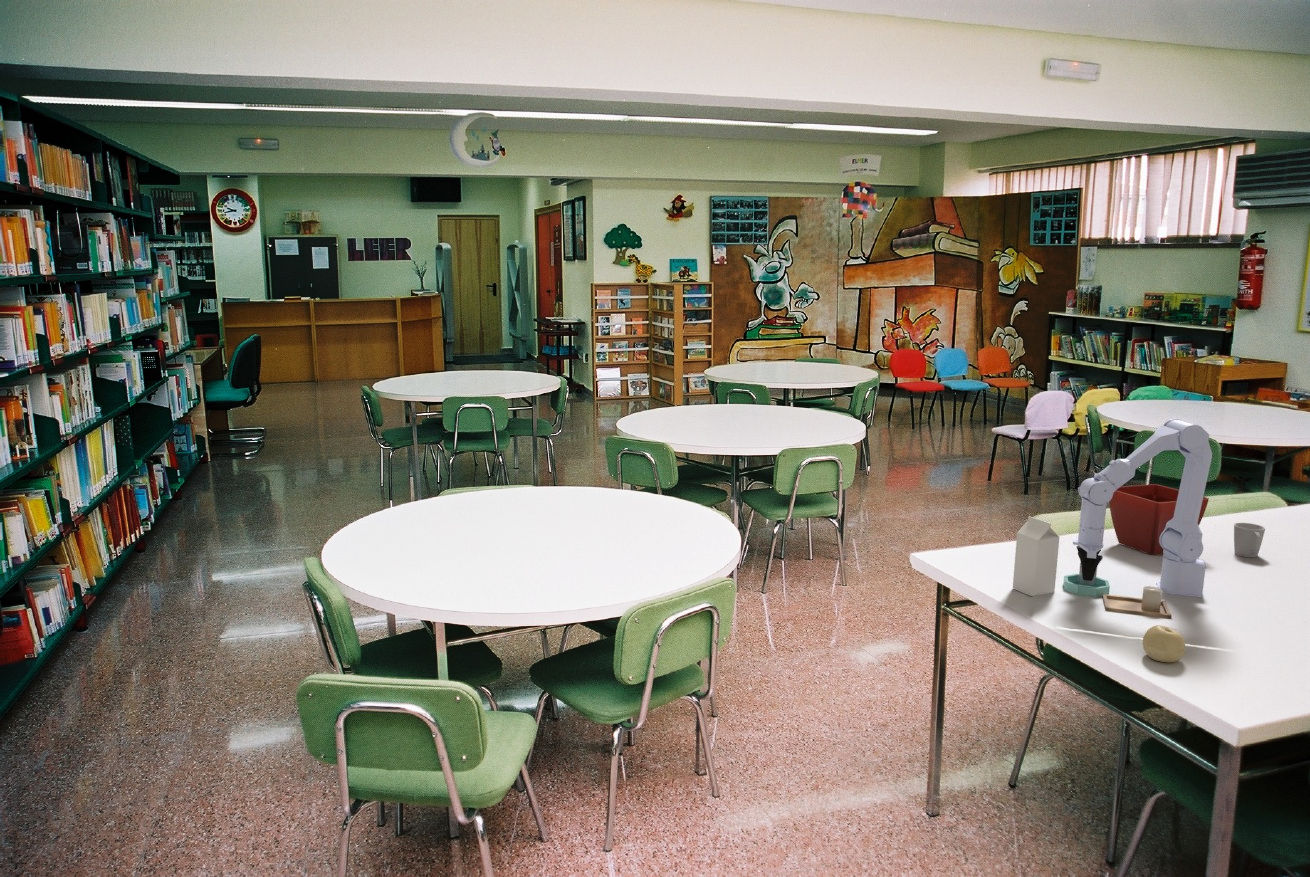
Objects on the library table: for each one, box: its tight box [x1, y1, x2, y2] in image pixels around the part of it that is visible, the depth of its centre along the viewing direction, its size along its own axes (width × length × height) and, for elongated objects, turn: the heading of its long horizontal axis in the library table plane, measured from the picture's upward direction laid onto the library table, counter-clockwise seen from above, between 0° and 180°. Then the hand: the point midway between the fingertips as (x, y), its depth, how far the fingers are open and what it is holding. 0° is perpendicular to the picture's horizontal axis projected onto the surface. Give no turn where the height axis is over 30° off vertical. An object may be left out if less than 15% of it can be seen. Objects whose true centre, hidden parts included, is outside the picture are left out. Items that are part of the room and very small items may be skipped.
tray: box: [1101, 594, 1172, 619], centre depth 225 cm, size 14×10×1 cm
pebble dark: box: [1078, 562, 1098, 586], centre depth 236 cm, size 4×4×5 cm
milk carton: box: [1012, 515, 1060, 598], centre depth 235 cm, size 7×7×19 cm
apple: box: [1142, 624, 1186, 663], centre depth 196 cm, size 8×8×8 cm
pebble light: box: [1141, 585, 1163, 612], centre depth 223 cm, size 4×4×5 cm
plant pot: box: [1108, 483, 1210, 556], centre depth 272 cm, size 19×19×17 cm
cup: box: [1233, 522, 1266, 558], centre depth 266 cm, size 8×10×8 cm
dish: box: [1063, 573, 1111, 598], centre depth 237 cm, size 10×10×3 cm
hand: (1086, 577), depth 237 cm, fingers closed on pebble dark, 4 cm apart
